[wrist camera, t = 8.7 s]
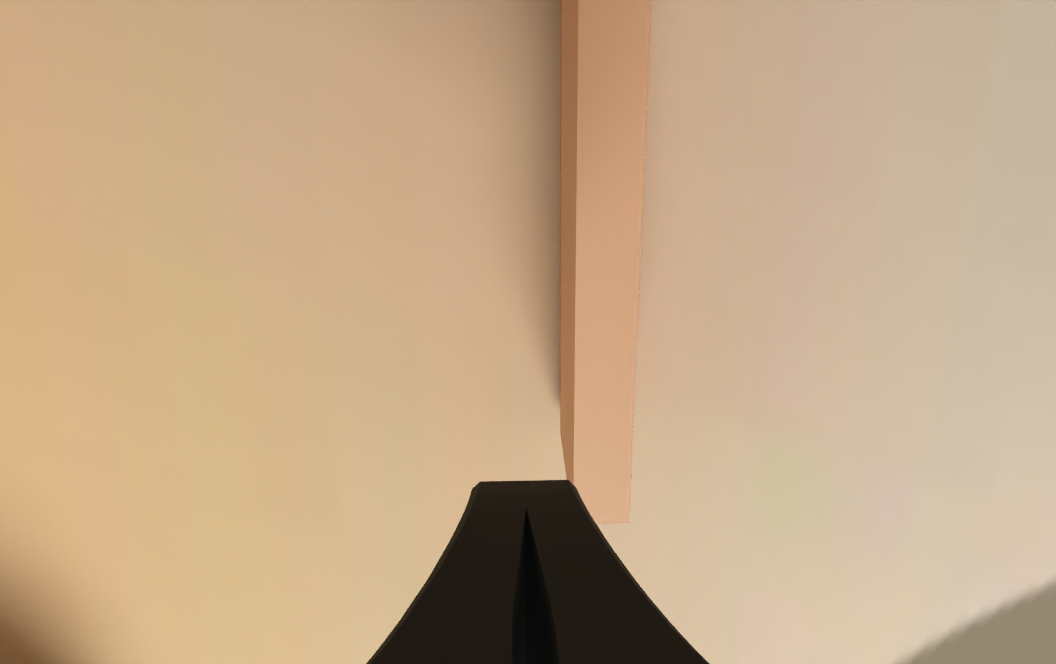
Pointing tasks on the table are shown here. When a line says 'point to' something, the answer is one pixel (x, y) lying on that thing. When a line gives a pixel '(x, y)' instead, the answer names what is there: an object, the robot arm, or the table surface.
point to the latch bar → (601, 243)
